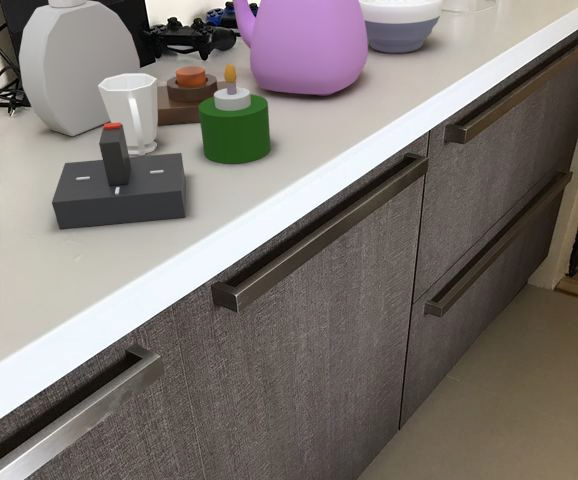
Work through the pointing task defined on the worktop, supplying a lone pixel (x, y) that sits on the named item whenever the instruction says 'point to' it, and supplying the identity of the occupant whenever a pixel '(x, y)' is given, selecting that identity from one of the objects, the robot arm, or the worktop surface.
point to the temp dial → (115, 154)
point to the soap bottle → (73, 62)
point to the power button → (190, 76)
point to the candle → (234, 124)
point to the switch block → (184, 100)
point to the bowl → (399, 23)
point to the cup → (133, 108)
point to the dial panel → (120, 192)
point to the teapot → (304, 44)
